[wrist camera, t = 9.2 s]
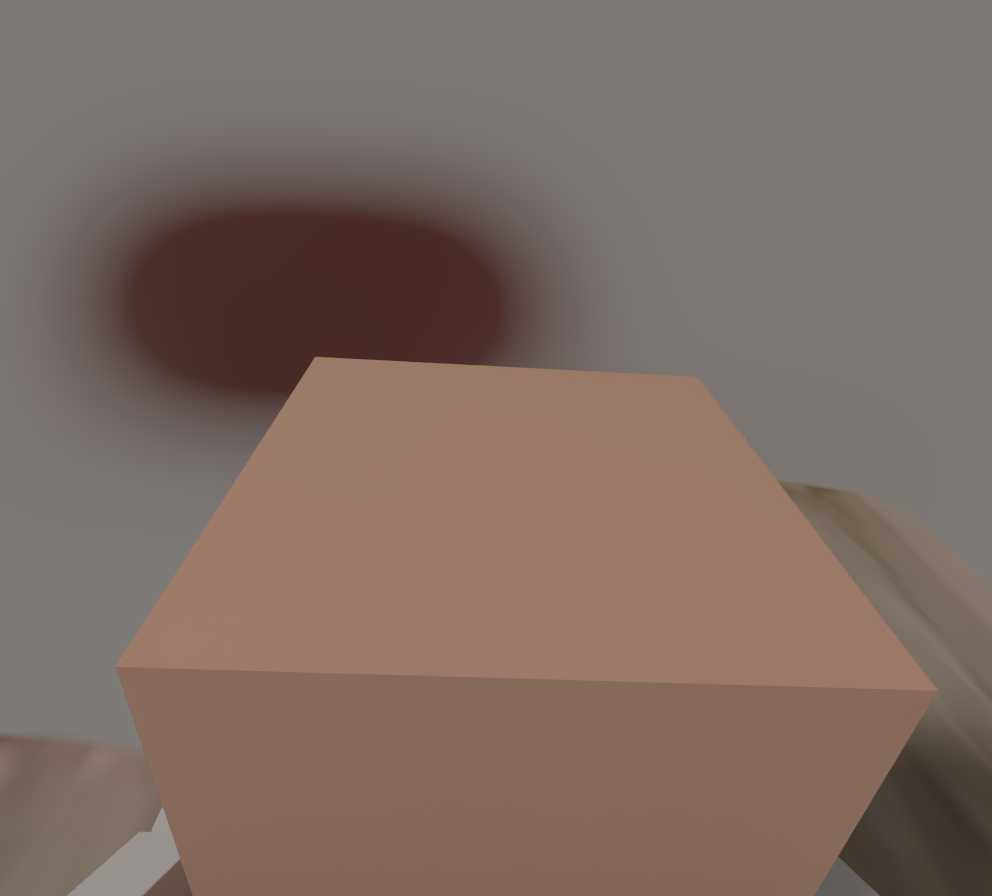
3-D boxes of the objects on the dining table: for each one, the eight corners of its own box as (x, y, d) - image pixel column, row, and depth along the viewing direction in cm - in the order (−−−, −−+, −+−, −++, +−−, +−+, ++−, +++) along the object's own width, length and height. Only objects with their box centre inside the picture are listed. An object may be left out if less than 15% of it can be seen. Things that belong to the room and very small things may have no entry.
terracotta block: (623, 1211, 10) (936, 691, 4) (301, 1214, 10) (116, 665, 4) (580, 867, 14) (697, 376, 8) (357, 864, 14) (315, 356, 8)
